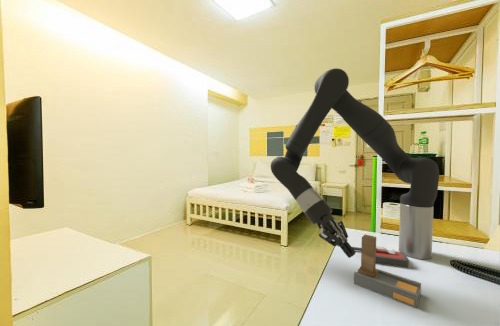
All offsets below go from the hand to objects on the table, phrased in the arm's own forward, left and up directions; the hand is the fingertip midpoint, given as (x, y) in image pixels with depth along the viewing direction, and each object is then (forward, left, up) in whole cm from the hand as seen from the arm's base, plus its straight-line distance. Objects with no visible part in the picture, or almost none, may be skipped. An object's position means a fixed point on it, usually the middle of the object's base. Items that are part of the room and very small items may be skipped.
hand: (352, 255), depth 62 cm
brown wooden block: (0, +4, -3) cm, 5 cm away
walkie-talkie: (-17, +1, -7) cm, 18 cm away
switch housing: (0, +8, -6) cm, 10 cm away
